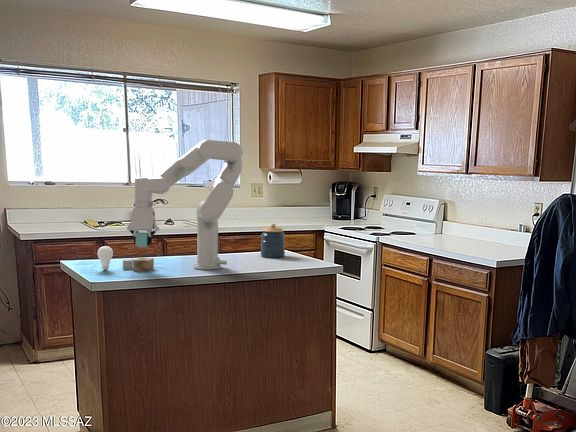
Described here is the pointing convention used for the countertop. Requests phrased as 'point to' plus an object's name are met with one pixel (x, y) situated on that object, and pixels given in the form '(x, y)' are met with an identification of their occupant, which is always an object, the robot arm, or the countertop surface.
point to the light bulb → (105, 256)
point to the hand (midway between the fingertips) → (142, 244)
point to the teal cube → (141, 239)
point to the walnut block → (143, 264)
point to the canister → (272, 242)
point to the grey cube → (128, 264)
